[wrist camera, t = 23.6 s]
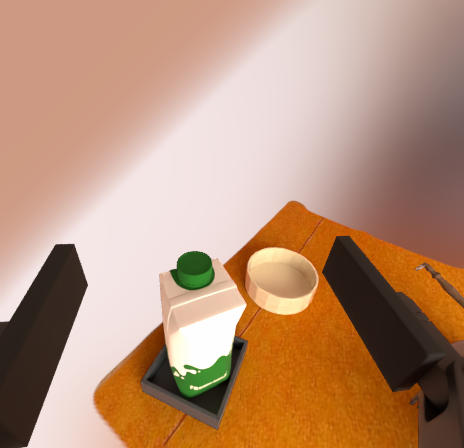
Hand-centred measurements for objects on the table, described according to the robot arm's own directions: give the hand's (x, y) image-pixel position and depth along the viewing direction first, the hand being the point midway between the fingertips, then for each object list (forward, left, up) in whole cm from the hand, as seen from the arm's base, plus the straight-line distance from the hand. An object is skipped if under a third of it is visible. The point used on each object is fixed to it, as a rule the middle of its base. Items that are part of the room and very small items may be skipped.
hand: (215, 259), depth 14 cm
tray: (-5, +8, -32) cm, 33 cm away
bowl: (+3, +30, -32) cm, 44 cm away
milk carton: (-5, +8, -32) cm, 33 cm away
